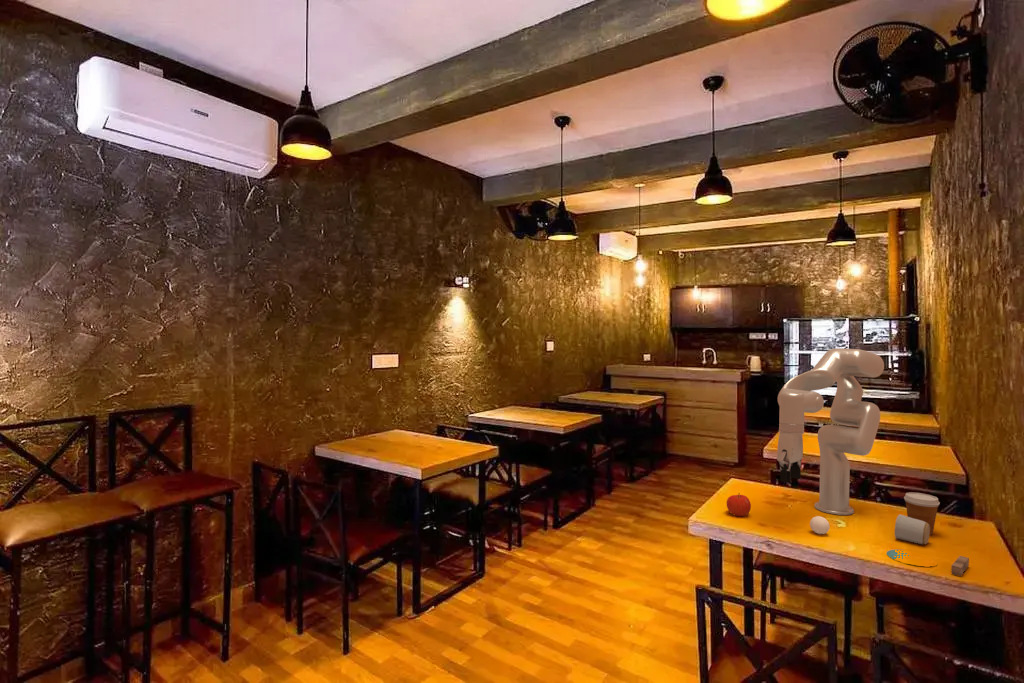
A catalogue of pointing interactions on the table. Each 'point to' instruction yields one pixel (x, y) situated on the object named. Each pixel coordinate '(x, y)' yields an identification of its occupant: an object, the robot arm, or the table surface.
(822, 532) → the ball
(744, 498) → the apple
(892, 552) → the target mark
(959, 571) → the strip
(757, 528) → the table surface
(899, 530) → the grey cylinder
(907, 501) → the disposable coffee cup
